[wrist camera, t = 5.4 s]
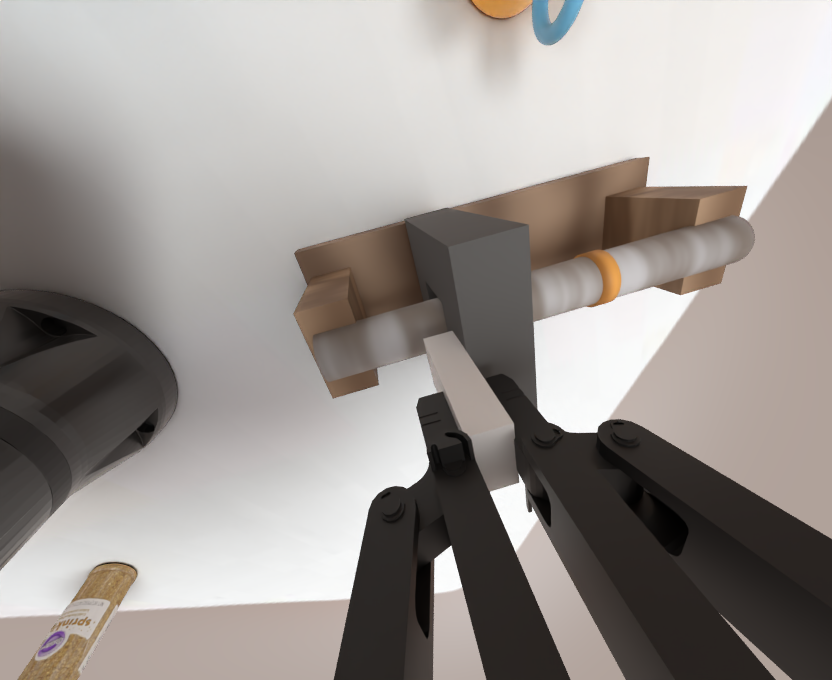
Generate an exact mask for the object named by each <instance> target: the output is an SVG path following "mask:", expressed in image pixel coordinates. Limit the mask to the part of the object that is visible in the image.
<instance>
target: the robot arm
mask: <svg viewBox="0 0 832 680" xmlns="http://www.w3.org/2000/svg"><path fill="white" fill-rule="evenodd" d="M423 340H424V344H425V348H426V352H427V357H428V361H429V365H430V369H431V373H432V377H433V382H434V385H435V388H436V390H437V393H435V394H432V395H428V396H425V397H421V398H419V400H418V404H417V407H416V408H417V412H418V416H419V420H420V424H421V428H422V432H423V436H424V439H425V443H426V447H427V455H428V458H429V467H428V469H427V472H426V473H425V475H424V476H423V477H422V478H421V479H420V480H419V481H418V482H417V483H415V484H414V485H412V486H411V487H409V488H408V489H406V488H404V487H399V486H394V487H390V488H386V489H385V490H383V491H382V492H380V493H379V494H378V495H377V496H376V497H375V498H374V500H373V501H372V503H371V506H370V508H369V512H368V517H367V522H366V527H365V531H364V536H363V541H362V546H361V551H360V556H359V560H358V565H357V570H356V575H355V580H354V585H353V589H352V594H351V599H350V604H349V609H348V613H347V618H346V623H345V628H344V633H343V638H342V642H341V648H340V652H339V657H338V662H337V667H336V671H335V676H334V680H433V621H434V619H433V617H434V613H433V612H434V558H436V557H437V556H438V555H440V554H441V553H442V552H443V551H445V550H446V549H447V548H448V547H450V546H451V545H452V549H453V553H454V557H455V561H456V564H457V568H458V572H459V576H460V580H461V584H462V587H463V591H464V595H465V599H466V603H467V607H468V610H469V614H470V618H471V622H472V626H473V630H474V634H475V637H476V641H477V645H478V649H479V653H480V656H481V660H482V664H483V668H484V672H485V676H486V680H570V678H569V675H568V673H567V671H566V668H565V666H564V664H563V661H562V659H561V657H560V654H559V652H558V650H557V648H556V645H555V643H554V640H553V638H552V636H551V634H550V631H549V629H548V627H547V624H546V622H545V620H544V618H543V615H542V613H541V611H540V608H539V606H538V604H537V601H536V599H535V596H534V594H533V592H532V590H531V587H530V585H529V583H528V580H527V578H526V576H525V573H524V571H523V569H522V566H521V564H520V562H519V560H518V557H517V555H516V552H515V550H514V548H513V545H512V543H511V541H510V539H509V536H508V534H507V532H506V529H505V527H504V525H503V522H502V520H501V518H500V515H499V513H498V511H497V508H496V506H495V504H494V501H493V499H492V497H491V495H490V491H493V490H496V489H500V488H503V487H506V486H509V485H513V484H516V483H519V475H520V476H521V478H522V480H523V482H524V483H525V490H526V503H527V508H528V512H532V507H533V509H534V511H535V513H536V514H537V516H538V518H539V520H540V522H541V524H542V526H543V527H544V529H545V531H546V533H547V535H548V537H549V538H550V540H551V542H552V544H553V546H554V548H555V550H556V551H557V553H558V555H559V557H560V559H561V561H562V562H563V564H564V566H565V568H566V570H567V572H568V573H569V575H570V577H571V579H572V581H573V583H574V585H575V586H576V588H577V590H578V592H579V594H580V596H581V598H582V599H583V601H584V603H585V605H586V606H587V608H588V610H589V612H590V614H591V616H592V618H593V620H594V621H595V623H596V625H597V627H598V629H599V631H600V633H601V634H602V636H603V638H604V640H605V642H606V644H607V645H608V647H609V649H610V651H611V653H612V655H613V657H614V658H615V660H616V662H617V664H618V666H619V668H620V669H621V671H622V673H623V675H624V677H625V679H626V680H775V678H774V677H773V676H772V675H771V674H770V673H769V671H768V670H767V669H766V668H765V667H764V666H763V664H762V663H761V662H760V661H759V660H758V658H757V657H756V656H755V655H754V654H753V653H752V651H751V650H750V649H749V648H748V647H747V645H746V644H745V643H744V642H743V641H742V640H741V638H740V637H739V636H738V635H737V634H736V633H735V631H734V630H733V629H732V628H731V627H730V625H729V624H728V623H727V622H726V621H725V619H727V620H728V621H729V622H730V623H731V624H732V625H733V626H734V627H735V628H736V629H737V630H739V631H740V632H741V633H742V634H743V635H744V636H745V637H746V638H747V639H749V640H750V641H751V642H752V643H753V644H754V645H755V646H756V647H757V648H758V649H759V650H760V651H762V652H763V653H764V654H765V655H766V656H767V657H768V658H769V659H770V660H772V661H773V662H774V663H775V664H776V665H777V666H778V667H779V668H780V669H781V670H782V671H783V672H785V673H786V674H787V675H788V676H789V677H790V678H791V679H792V680H832V539H831V538H829V537H827V536H826V535H823V534H822V533H820V532H819V531H817V530H815V529H814V528H812V527H810V526H809V525H807V524H805V523H804V522H802V521H800V520H798V519H797V518H795V517H794V516H792V515H790V514H788V513H787V512H785V511H783V510H782V509H780V508H778V507H777V506H775V505H773V504H772V503H770V502H768V501H767V500H765V499H763V498H761V497H760V496H758V495H756V494H755V493H753V492H751V491H750V490H748V489H746V488H745V487H743V486H741V485H740V484H738V483H736V482H735V481H733V480H731V479H730V478H728V477H726V476H724V475H723V474H721V473H719V472H718V471H716V470H714V469H713V468H711V467H709V466H708V465H706V464H704V463H703V462H701V461H699V460H697V459H696V458H694V457H692V456H691V455H689V454H687V453H686V452H684V451H682V450H681V449H679V448H677V447H676V446H674V445H672V444H671V443H669V442H667V441H665V440H664V439H662V438H660V437H659V436H657V435H655V434H654V433H652V432H650V431H649V430H647V429H645V428H643V427H642V426H640V425H638V424H635V423H633V422H631V421H626V420H621V419H620V420H609V421H606V422H603V423H602V424H601V425H600V426H599V427H598V432H597V433H569V432H565V431H564V430H563V429H561V428H560V427H559V426H557V425H554V424H552V423H548V422H547V421H546V420H545V419H544V417H543V416H542V415H541V414H540V412H539V411H538V410H537V409H536V408H535V406H534V405H533V404H532V403H531V401H530V400H529V399H528V398H527V396H525V394H524V393H523V391H522V390H521V389H519V387H518V385H517V384H516V383H515V382H514V380H513V379H511V378H510V377H508V376H506V375H504V374H498V375H495V376H491V377H488V378H484V377H483V376H482V374H481V373H480V371H479V370H478V368H477V367H476V365H475V364H474V362H473V361H472V359H471V358H470V356H469V355H468V353H467V352H466V350H465V349H464V347H463V346H462V344H461V343H460V341H459V340H458V338H457V337H456V335H455V334H454V332H453V331H449V332H446V333H442V334H439V335H435V336H431V337H428V338H424V339H423ZM176 403H177V386H176V381H175V377H174V375H173V372H172V370H171V368H170V366H169V364H168V362H167V361H166V359H165V358H164V356H163V355H162V353H161V352H160V351H159V350H158V349H157V347H156V346H155V345H154V344H153V343H152V342H151V341H150V340H149V339H148V338H147V337H146V336H144V335H143V334H142V333H141V332H140V331H138V330H137V329H136V328H134V327H133V326H132V325H130V324H129V323H127V322H126V321H124V320H122V319H121V318H119V317H118V316H116V315H114V314H112V313H110V312H108V311H106V310H104V309H102V308H100V307H97V306H95V305H93V304H90V303H87V302H84V301H82V300H79V299H75V298H72V297H68V296H64V295H60V294H55V293H50V292H43V291H34V290H5V291H0V570H1V569H2V568H3V567H4V566H5V565H6V564H7V563H8V562H9V561H10V559H11V558H12V557H13V556H14V555H15V554H16V553H17V552H18V551H19V550H20V549H21V548H22V547H23V545H24V544H25V543H26V542H27V541H28V540H29V539H30V538H31V537H32V536H33V535H34V534H35V533H36V532H37V530H38V529H39V528H40V527H41V526H42V525H43V524H44V523H45V522H46V520H47V519H48V518H49V517H50V516H51V515H52V514H53V513H54V512H55V511H56V510H57V509H58V508H59V507H60V506H61V505H62V504H63V503H64V501H65V500H66V499H67V498H68V497H69V496H71V495H72V494H73V493H75V492H77V491H78V490H80V489H81V488H83V487H84V486H86V485H88V484H89V483H91V482H92V481H94V480H95V479H97V478H99V477H100V476H102V475H103V474H105V473H106V472H108V471H110V470H111V469H113V468H114V467H116V466H118V465H119V464H121V463H122V462H124V461H125V460H127V459H129V458H130V457H132V456H133V455H135V454H136V453H138V452H139V451H141V450H142V449H143V448H145V447H146V446H147V445H148V444H149V443H150V442H151V441H152V440H153V439H154V438H155V437H156V436H157V434H158V433H159V432H160V431H161V430H162V428H163V427H164V426H165V425H166V423H167V422H168V421H169V420H170V418H171V416H172V414H173V412H174V410H175V407H176ZM518 473H519V475H518ZM719 613H720V614H721V615H722V616H723V617H724V618H725V619H723V617H722V616H721V615H720V614H719Z"/></svg>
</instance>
